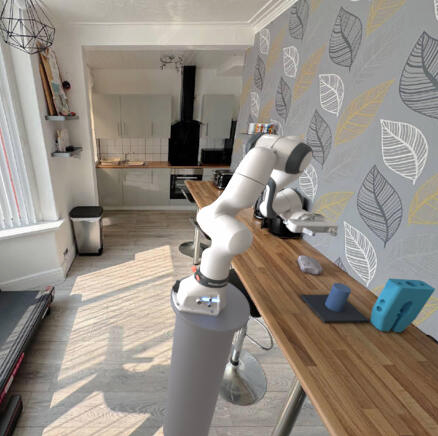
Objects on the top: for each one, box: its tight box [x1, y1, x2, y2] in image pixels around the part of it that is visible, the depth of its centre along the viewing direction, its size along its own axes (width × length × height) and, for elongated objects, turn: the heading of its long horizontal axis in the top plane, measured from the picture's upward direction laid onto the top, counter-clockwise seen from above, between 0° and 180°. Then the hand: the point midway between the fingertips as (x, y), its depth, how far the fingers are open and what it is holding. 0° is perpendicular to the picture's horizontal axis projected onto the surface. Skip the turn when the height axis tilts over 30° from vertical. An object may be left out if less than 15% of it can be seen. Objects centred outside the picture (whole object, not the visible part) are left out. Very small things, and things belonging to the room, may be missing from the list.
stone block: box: [297, 255, 323, 275], centre depth 122 cm, size 12×5×10 cm
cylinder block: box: [325, 282, 352, 312], centre depth 94 cm, size 6×6×10 cm
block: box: [369, 278, 436, 333], centre depth 85 cm, size 12×5×20 cm, turn 88°
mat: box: [300, 294, 370, 323], centre depth 96 cm, size 18×14×1 cm
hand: (324, 234), depth 96 cm, fingers open, 8 cm apart
